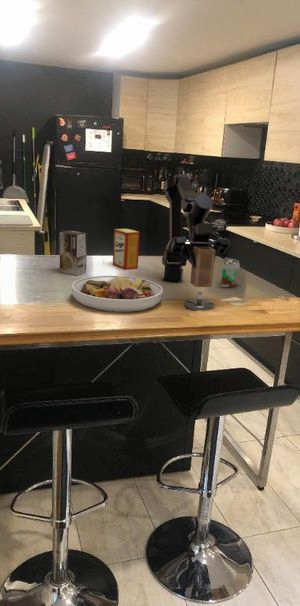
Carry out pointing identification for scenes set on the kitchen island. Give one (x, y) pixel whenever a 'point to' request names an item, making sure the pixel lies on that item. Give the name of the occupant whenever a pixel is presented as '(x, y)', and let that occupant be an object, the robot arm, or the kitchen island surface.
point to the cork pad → (236, 301)
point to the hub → (198, 303)
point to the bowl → (117, 293)
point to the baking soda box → (126, 249)
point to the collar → (203, 267)
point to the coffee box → (73, 252)
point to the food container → (229, 272)
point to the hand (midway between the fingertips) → (203, 267)
